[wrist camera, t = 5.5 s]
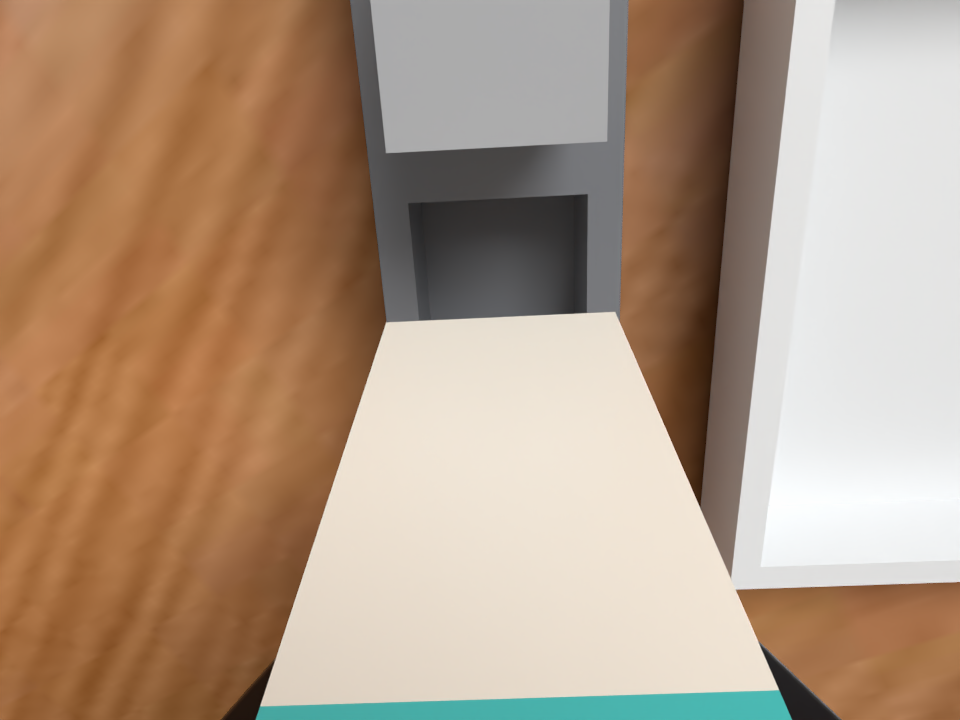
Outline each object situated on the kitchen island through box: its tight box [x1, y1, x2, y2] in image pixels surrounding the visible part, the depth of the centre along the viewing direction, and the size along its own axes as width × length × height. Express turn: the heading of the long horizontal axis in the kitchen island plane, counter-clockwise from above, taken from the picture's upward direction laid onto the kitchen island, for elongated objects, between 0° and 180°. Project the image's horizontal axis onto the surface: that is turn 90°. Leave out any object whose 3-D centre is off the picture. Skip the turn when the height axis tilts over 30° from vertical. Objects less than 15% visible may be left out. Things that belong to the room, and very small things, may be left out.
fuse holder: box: [350, 0, 628, 322], centre depth 17 cm, size 18×5×3 cm, turn 3°
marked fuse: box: [256, 312, 792, 720], centre depth 7 cm, size 4×3×7 cm
